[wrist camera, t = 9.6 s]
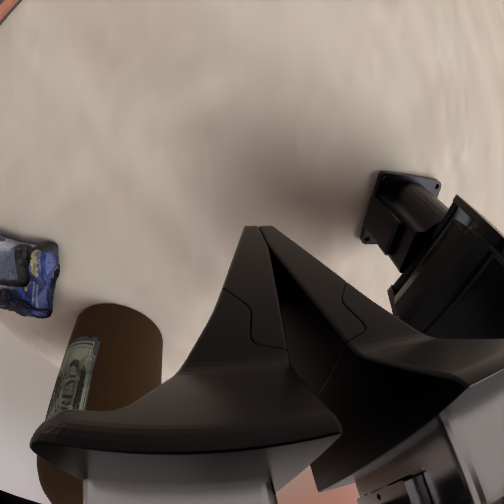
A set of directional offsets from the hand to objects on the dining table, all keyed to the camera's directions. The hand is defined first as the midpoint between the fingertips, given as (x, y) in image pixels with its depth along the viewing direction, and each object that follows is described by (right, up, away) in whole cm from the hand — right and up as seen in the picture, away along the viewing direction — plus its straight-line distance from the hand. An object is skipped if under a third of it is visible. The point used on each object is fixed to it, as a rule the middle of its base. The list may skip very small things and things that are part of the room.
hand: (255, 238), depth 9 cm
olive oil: (-14, -9, +20) cm, 26 cm away
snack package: (-22, -1, +13) cm, 26 cm away
